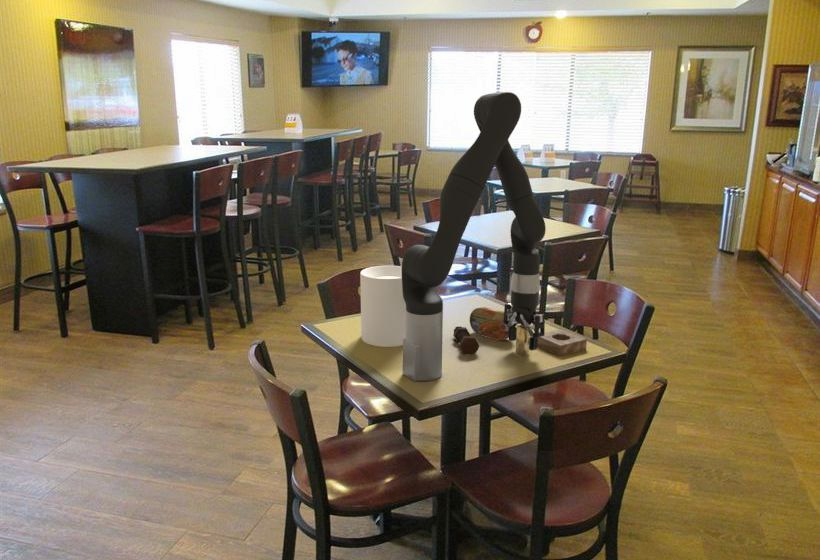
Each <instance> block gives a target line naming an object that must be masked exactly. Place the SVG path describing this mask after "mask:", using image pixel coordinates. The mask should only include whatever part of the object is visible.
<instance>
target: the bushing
mask: <svg viewBox="0 0 820 560" xmlns="http://www.w3.org/2000/svg"><path fill="white" fill-rule="evenodd" d="M516 328H517V332H516V340H515V355H516V356H518V357H528V356H529V353H530V350H529V339H530V335H529V332H528V330H526V328H525V326H523V325H521V324H518V325H517V326H516Z"/></svg>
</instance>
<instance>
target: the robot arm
mask: <svg viewBox="0 0 820 560" xmlns="http://www.w3.org/2000/svg"><path fill="white" fill-rule="evenodd" d="M521 114H522V103H521V99H520V98H519V97H518V95H517V94H515V93H514V92H511V91H498V92H491V93H486V94H484V95H481V96H479V97H478V98H477V100H476V101H475V103H474V107H473V116H474V121H475V123H476V125H477V127H478V130H479V132H480V133H478V136H477V138H476V139H475V141H474V142H473V143H472V145H471V146H470V147H469V148H468V149H467V150H466V151H465V152H464V154H463V155H462V156H461V157H460V158H459V159H458V160H457V162H456V163H455V164H454V165H453V167H452V168H451V170H450V172H449V174H448V176H447V179H445V180H446V181H445V182H444V185H443V187H442V190H441V191H440V196H439V223H438V227H437V230H436V233H435V235H434V236H433V239H432V241H431V243H430V245H429V246H428V245H424V244H415V245H411V246H410V247H409V248H408V249H407V250H406V251H405V253H404V255H403V258H402V262H401V267H402V291H403V298H404V301H405V303H406V338H404V339H403V345H402V375H404V376H406V377H407V378H409V379H411V380H412V381H413V382H417V381H419V382H420V381H421V382H423V381H424V382H427V381H433V380H437V379H439V378H441V377H442V375H443V374H442V373H443V329H444V328H443V318H444V300H443V298H442V297H441V296H440V294H439V293H438V292H437V290H436V287H439V286H441V284H443V283H444V282H445V280H446V279H447V278H448V276H449V275H450V272H451V270H452V267H453V265H454V261H455V258H456V255H457V252H458V249H459V246H460V244H461V240H462V239H463V238H462V237H463V236H464V233H465V232H466V228H467V226H468V223H469V222H470V219H471V216H472V215H473V212H474V211H475V208H476V206H477V204H478V203H479V201H480V199H481V196H482V194H483V192H484V190H485V187H486V184H487V183H488V179H490V175H491V173H492V171H493V169H494V167H495V169H496V172H497V174H498V176H499V181H500V183H501V187H502V190H503V194H504V198H505V201H506V203H507V206H508V208H509V209H510V210H511V211H512V212H513V214H514V215H515V216H514V218H513V220H512V221H511V225H510V241H511V249H512V255H513V259H512V276H511V285H510V286H511V287H510V303H505V304H504V308H503V309H504V311H503V312H504V320H503V322H504V324H507V326H508V328H509V331H508V337H509V338H508V341H510V342H514V341H516V332H517V325H523V326H525V328H526V330H528V332H529V335H530V338H529V351H532V352H533V351H536V350H537V349H538V348H539V346H538V337H541V336H544V335H545V333H546V332H545V329H546V328H545V327H546V326H545V319H546V316H545V314H543V313H542V314H537V307H538V306H539V303H540V287H541V286H540V285H541V284H540V282H541V281H540V268H541V266H540V265H541V256H540V253H539V252H538V250H537V249H536V244H537V243H540V242H541V241H542V240H543V239H544V238H545V234H546V221H545V220H544V216H543V214H542V212H541V210H540V208H539V206H538V204H537V202H536V200H535V198H534V193H533V189H532V185H531V182H530V178H529V175H528V173H527V172H528V171H527V170H526V168H525V166H524V165H523V163H522V162H521V160H520V159H519V157H518V156H517V154H516V153H515V151H514V150H513V148H512V146H511V143H510V141H509V139H510V137H511V135H512V134H513V132H514V130H515V128H516V126H517V124H519V123H518V122H519V121H520V118H521ZM508 316H509V319H508Z"/></svg>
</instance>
